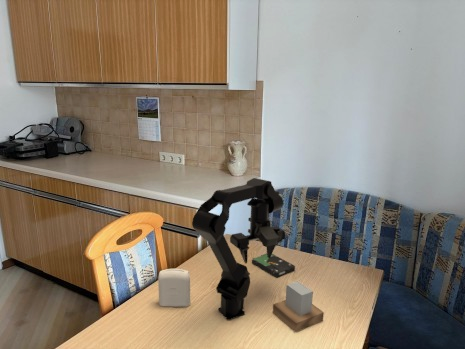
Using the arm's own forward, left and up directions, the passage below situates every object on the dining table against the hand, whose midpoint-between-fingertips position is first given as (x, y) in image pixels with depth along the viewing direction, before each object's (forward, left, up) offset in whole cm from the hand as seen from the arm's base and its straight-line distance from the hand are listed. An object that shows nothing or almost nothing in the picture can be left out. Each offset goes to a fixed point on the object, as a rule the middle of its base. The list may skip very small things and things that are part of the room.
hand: (257, 260), depth 120 cm
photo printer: (-26, +9, -13) cm, 31 cm away
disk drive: (+18, +13, -14) cm, 26 cm away
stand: (+5, -16, -13) cm, 21 cm away
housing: (+5, -16, -10) cm, 20 cm away
